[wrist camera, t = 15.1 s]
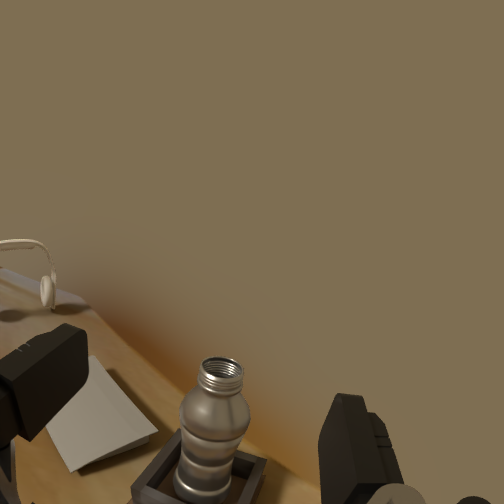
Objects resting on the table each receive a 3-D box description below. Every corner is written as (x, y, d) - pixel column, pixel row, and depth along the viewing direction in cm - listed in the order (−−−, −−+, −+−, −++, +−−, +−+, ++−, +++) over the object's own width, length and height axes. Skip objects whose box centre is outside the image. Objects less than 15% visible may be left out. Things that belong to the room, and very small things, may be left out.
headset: (-17, 325, 50) (-25, 245, 46) (-19, 311, 55) (-24, 236, 51) (60, 316, 65) (59, 242, 61) (53, 304, 69) (53, 234, 66)
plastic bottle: (178, 469, 33) (191, 341, 29) (231, 480, 33) (263, 355, 29) (166, 506, 27) (172, 378, 23) (225, 519, 27) (260, 397, 23)
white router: (100, 367, 53) (99, 349, 52) (172, 449, 38) (174, 431, 38) (25, 383, 41) (21, 364, 40) (77, 486, 27) (71, 469, 26)
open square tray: (264, 479, 35) (272, 457, 34) (233, 552, 23) (241, 536, 22) (175, 447, 38) (176, 424, 37) (127, 508, 26) (123, 487, 25)
